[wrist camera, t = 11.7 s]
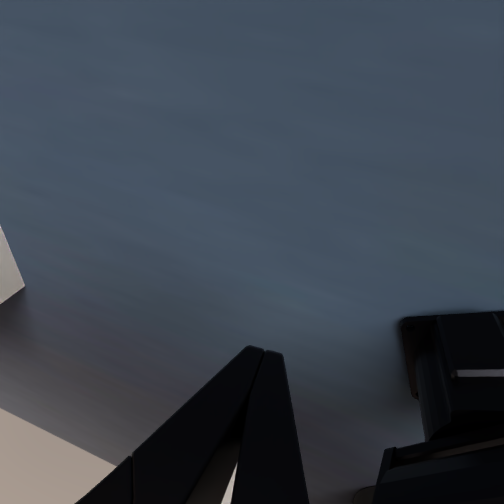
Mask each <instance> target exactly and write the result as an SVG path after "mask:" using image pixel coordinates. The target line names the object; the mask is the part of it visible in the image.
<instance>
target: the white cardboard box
mask: <svg viewBox="0 0 504 504" xmlns="http://www.w3.org/2000/svg"><path fill="white" fill-rule="evenodd" d="M23 287H25V284H24V282H23V279H22V277H21V274H20V272H19V270H18V267H17V265H16V262H15V260H14V257H13V255H12V252H11V250H10V248H9V245H8V243H7V240H6V238H5V235H4V233H3V231H2V228H1V226H0V304H1V303H3V302H4V301H5V300H7V299H8V298H9V297H11V296H12V295H14V294H15V293H16V292H18V291H19V290H20V289H22V288H23Z"/></svg>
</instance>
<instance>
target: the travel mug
mask: <svg viewBox="0 0 504 504" xmlns="http://www.w3.org/2000/svg"><path fill="white" fill-rule="evenodd" d="M375 488H376V486H372V487H368V488H365V489H362V490H360V491H359V492H358V493H357V494H356V495H355V497H354V501H353V504H372V500H373V496H374V492H375Z"/></svg>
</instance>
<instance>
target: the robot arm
mask: <svg viewBox="0 0 504 504" xmlns="http://www.w3.org/2000/svg"><path fill="white" fill-rule="evenodd" d="M407 325H413V327H407ZM401 332H402V338H403V344H404V350H405V357H406V363H407V369H408V375H409V382H410V388H411V394H412V396H413V397H414V398H415V399H418V400H419V402H420V409H421V416H422V423H423V429H424V436H425V442H422V443H418V444H414V445H410V446H405V447H401V448H396V447H392V448H388V449H385V450H384V454H383V458H382V463H381V467H380V471H379V475H378V479H377V483H376V488H375V492H374V496H373V500H372V504H504V311H498V312H481V313H465V314H449V315H433V316H417V317H406V318H404V319H402V321H401ZM236 464H237V468H236V474H235V480H234V486H233V492H232V498H231V503H230V504H309V500H308V494H307V488H306V483H305V477H304V471H303V465H302V460H301V454H300V448H299V443H298V437H297V431H296V425H295V420H294V414H293V408H292V403H291V397H290V391H289V385H288V380H287V374H286V368H285V363H284V357H283V355H282V354H281V353H278V352H274V351H270V350H266V351H264V349H262V348H259V347H255V346H251V345H249V346H246V347H245V348H244V349H243V350H242V351H241V352H240V353H239V354H238V355H236V356H235V357H234V358H233V359H232V360H231V361H230V362H229V363H228V364H227V365H226V366H225V367H224V368H223V369H221V370H220V371H219V372H218V373H217V374H216V375H215V376H214V377H213V378H212V379H211V380H210V381H209V382H208V383H206V384H205V385H204V386H203V387H202V388H201V389H200V390H199V391H198V392H197V393H196V394H195V395H194V396H193V397H191V398H190V399H189V400H188V401H187V402H186V403H185V404H184V405H183V406H182V407H181V408H180V409H179V410H178V411H176V412H175V413H174V414H173V415H172V416H171V417H170V418H169V419H168V420H167V421H166V422H165V423H164V424H163V425H161V426H160V427H159V428H158V429H157V430H156V431H155V432H154V433H153V434H152V435H151V436H150V437H149V438H148V439H146V440H145V441H144V442H143V443H142V444H141V445H140V446H139V447H138V448H137V449H136V450H135V451H134V452H133V453H132V457H131V456H128V457H127V458H126V459H125V460H124V461H123V462H122V463H121V464H119V465H118V466H117V467H116V468H115V469H114V470H113V471H112V472H111V473H110V474H109V475H108V476H106V477H105V478H104V479H103V480H102V481H101V482H100V483H98V484H97V485H96V486H95V487H94V488H93V489H92V490H91V491H90V492H88V493H87V494H86V495H85V496H84V497H82V498H81V499H80V500H79V501H77V502H76V503H75V504H221V503H222V500H223V498H224V495H225V493H226V490H227V487H228V485H229V482H230V480H231V477H232V475H233V472H234V470H235V467H236Z"/></svg>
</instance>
